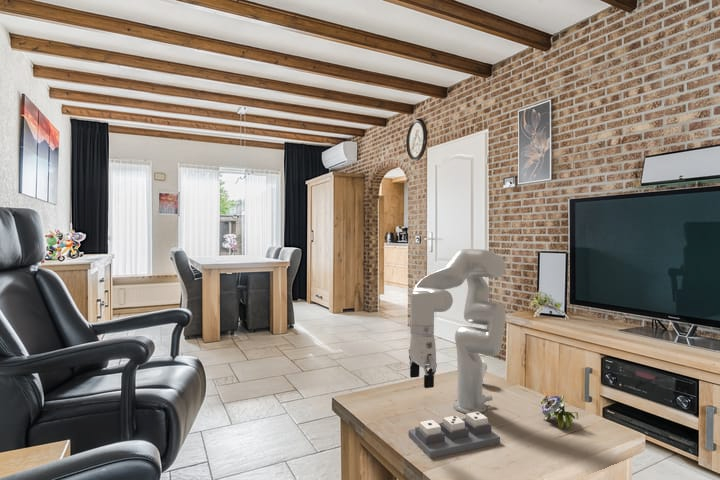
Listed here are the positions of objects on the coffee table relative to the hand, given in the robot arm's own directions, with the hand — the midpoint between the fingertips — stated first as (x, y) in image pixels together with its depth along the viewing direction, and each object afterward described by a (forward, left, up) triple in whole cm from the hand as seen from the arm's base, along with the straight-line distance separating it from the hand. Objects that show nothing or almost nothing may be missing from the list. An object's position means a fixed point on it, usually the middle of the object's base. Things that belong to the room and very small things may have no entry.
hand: (421, 382), depth 128 cm
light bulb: (-51, -37, -20) cm, 66 cm away
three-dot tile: (-11, +2, -16) cm, 20 cm away
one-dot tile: (-2, +2, -16) cm, 16 cm away
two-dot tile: (-20, +2, -16) cm, 26 cm away
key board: (-11, +2, -20) cm, 23 cm away
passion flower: (-54, +4, -20) cm, 58 cm away
